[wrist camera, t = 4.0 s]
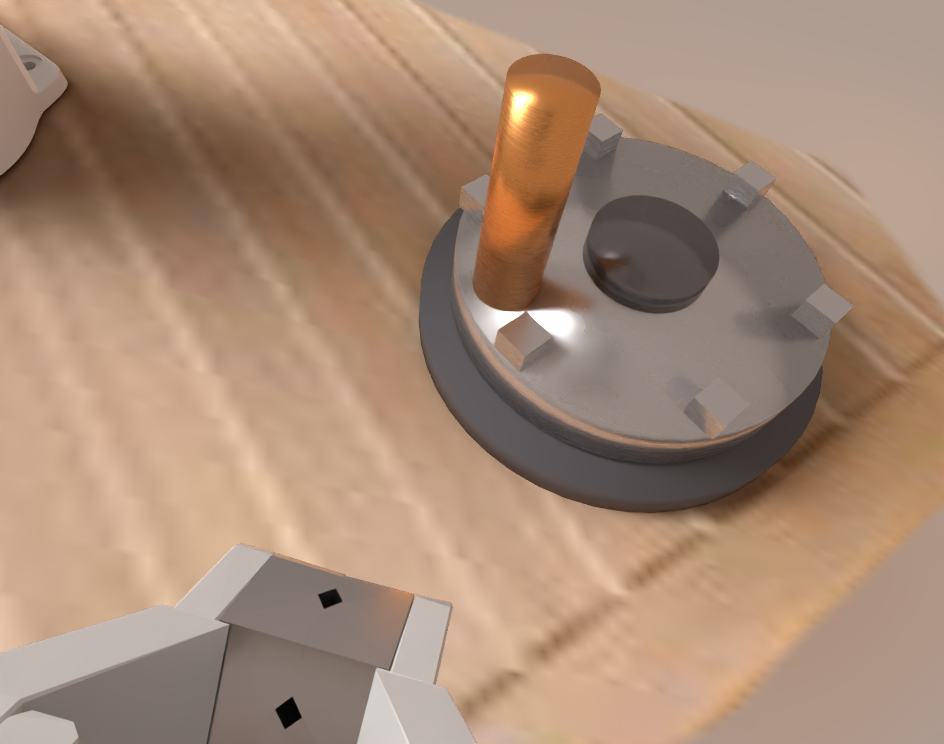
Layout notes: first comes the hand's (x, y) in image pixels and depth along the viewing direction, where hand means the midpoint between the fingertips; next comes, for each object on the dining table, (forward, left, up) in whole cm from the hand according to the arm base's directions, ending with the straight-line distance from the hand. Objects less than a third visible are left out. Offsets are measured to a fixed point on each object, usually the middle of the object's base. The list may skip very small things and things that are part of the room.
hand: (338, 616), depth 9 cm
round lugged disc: (-6, +21, -16) cm, 27 cm away
